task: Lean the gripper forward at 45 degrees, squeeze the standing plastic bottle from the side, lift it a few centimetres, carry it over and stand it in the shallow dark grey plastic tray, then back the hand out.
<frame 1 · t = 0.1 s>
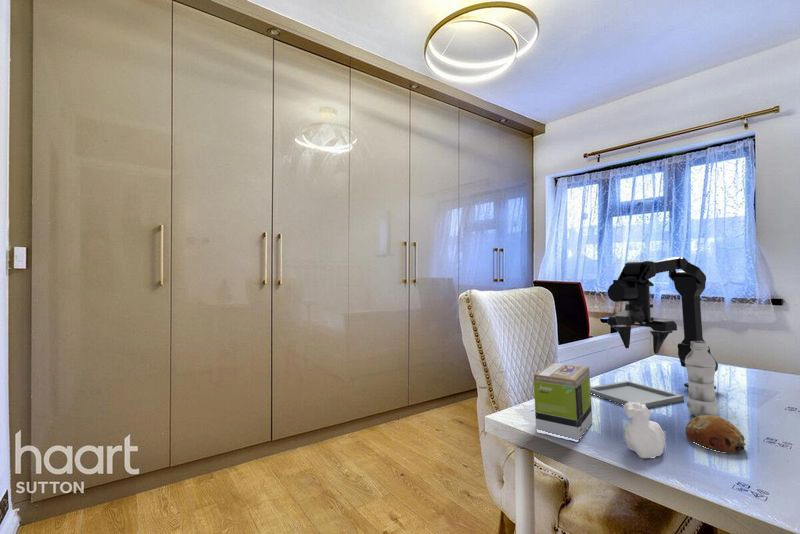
hand: (640, 350, 114), 15 cm above the table, tool pointing down, fingers open, 9 cm apart
tray: (632, 396, 115), on the table
tea box: (564, 429, 92), on the table
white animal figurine: (643, 452, 79), on the table
bread roll: (716, 445, 82), on the table
plastic bottle: (702, 417, 97), on the table
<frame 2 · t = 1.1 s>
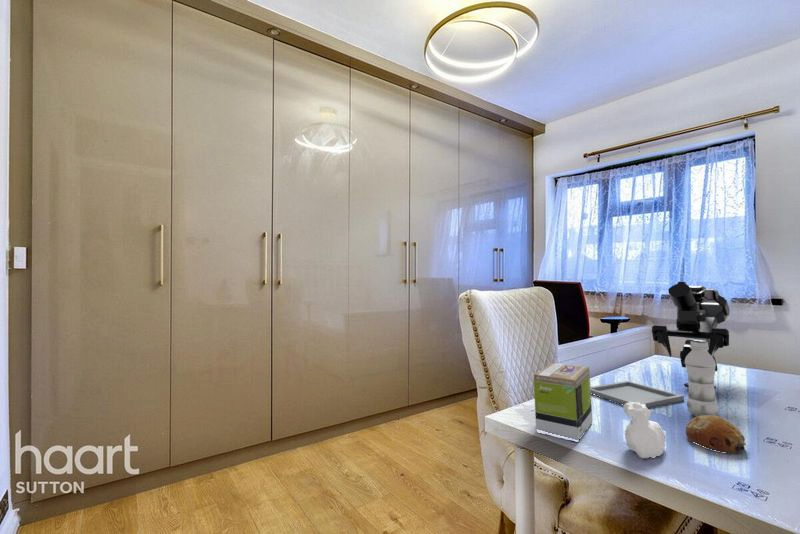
hand: (689, 357, 109), 13 cm above the table, tool tilted 45°, fingers open, 9 cm apart
nothing on the table moved.
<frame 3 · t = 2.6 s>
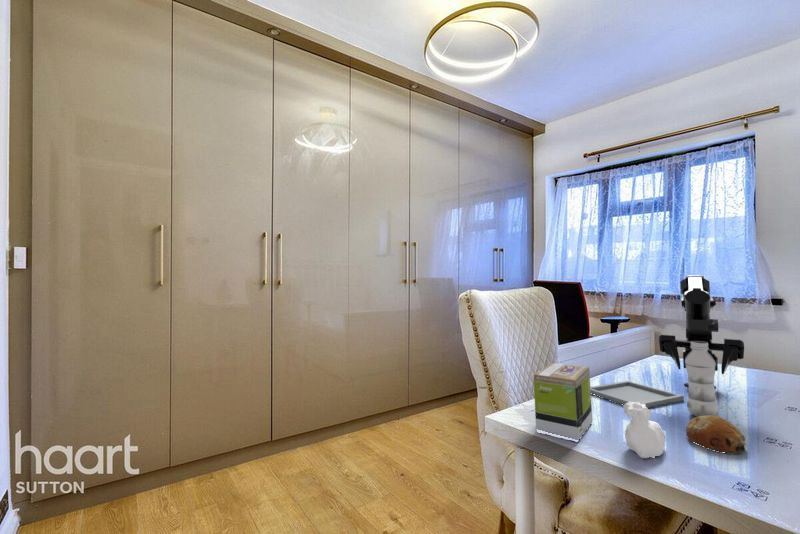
hand: (700, 370, 100), 12 cm above the table, tool tilted 45°, fingers open, 9 cm apart
nothing on the table moved.
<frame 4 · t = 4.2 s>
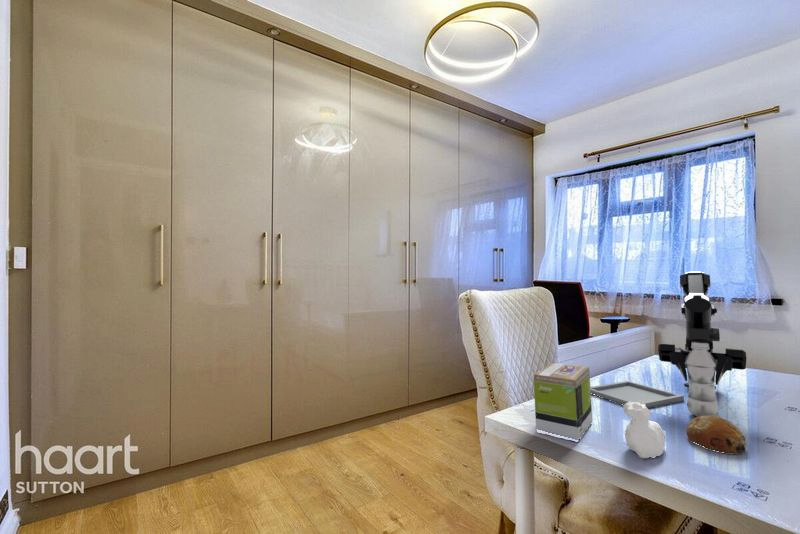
hand: (701, 382, 97), 10 cm above the table, tool tilted 45°, fingers closed on plastic bottle, 6 cm apart
plastic bottle: (702, 417, 97), on the table, touching gripper
everything else where it was.
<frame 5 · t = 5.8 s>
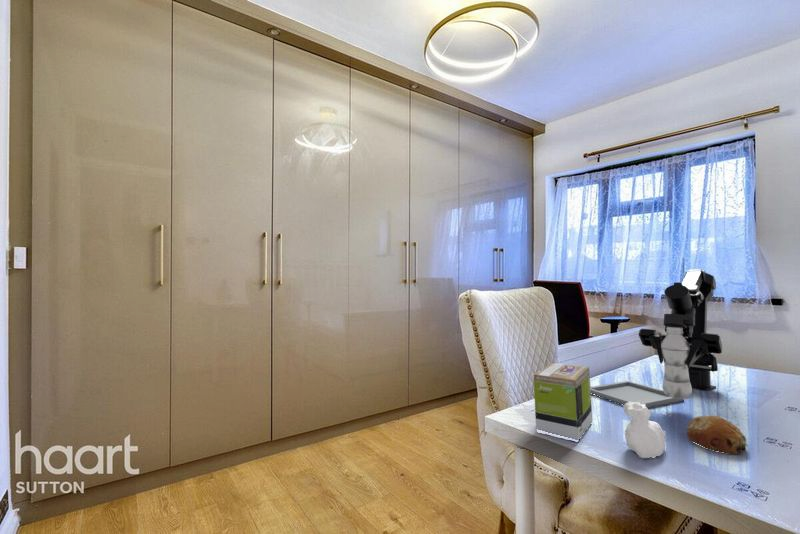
hand: (674, 364, 102), 13 cm above the table, tool tilted 45°, fingers closed on plastic bottle, 6 cm apart
plastic bottle: (677, 398, 102), point 3 cm above the table, touching gripper
everything else where it was.
when the fingers open (11 cm above the table, at t = 7.7 s): plastic bottle stays where it is, resting on tray.
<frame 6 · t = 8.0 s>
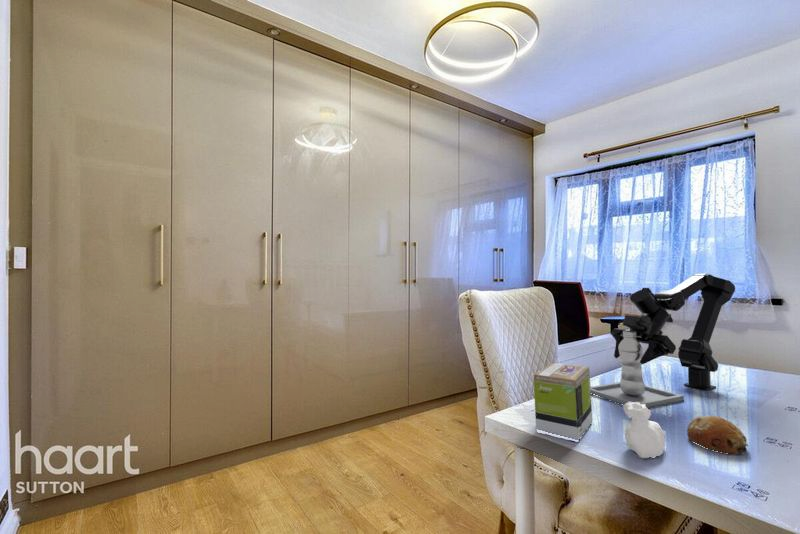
hand: (627, 360, 115), 12 cm above the table, tool tilted 45°, fingers open, 9 cm apart
plastic bottle: (632, 395, 115), resting on tray
everything else where it was.
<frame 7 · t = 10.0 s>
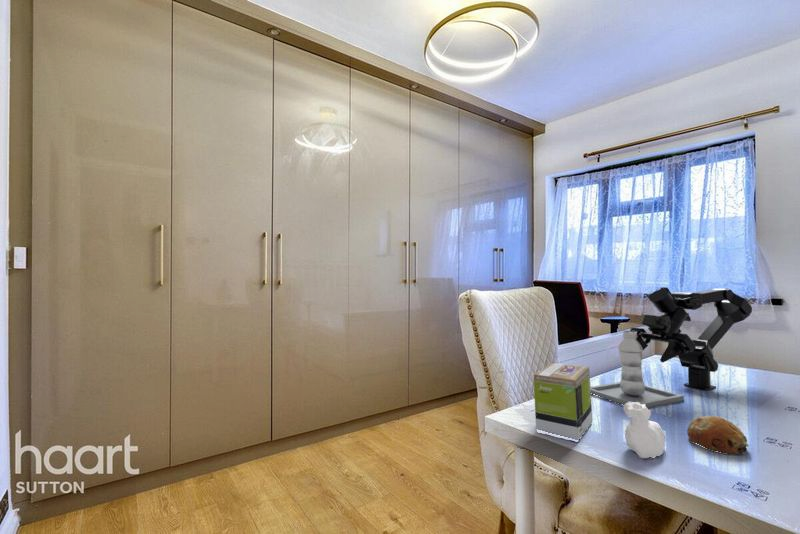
hand: (647, 358, 117), 11 cm above the table, tool tilted 45°, fingers open, 9 cm apart
nothing on the table moved.
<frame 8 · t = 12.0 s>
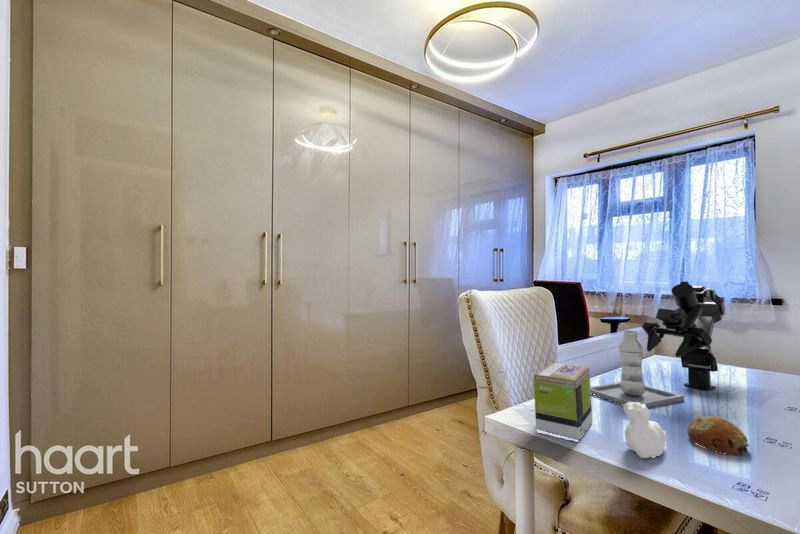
hand: (661, 353, 115), 14 cm above the table, tool tilted 45°, fingers open, 9 cm apart
nothing on the table moved.
at the end: plastic bottle inside the target area on the tray (0.1 cm from its centre), point 0.3 cm above the tray's base; plastic bottle tilted 0°; the gripper is holding nothing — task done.
